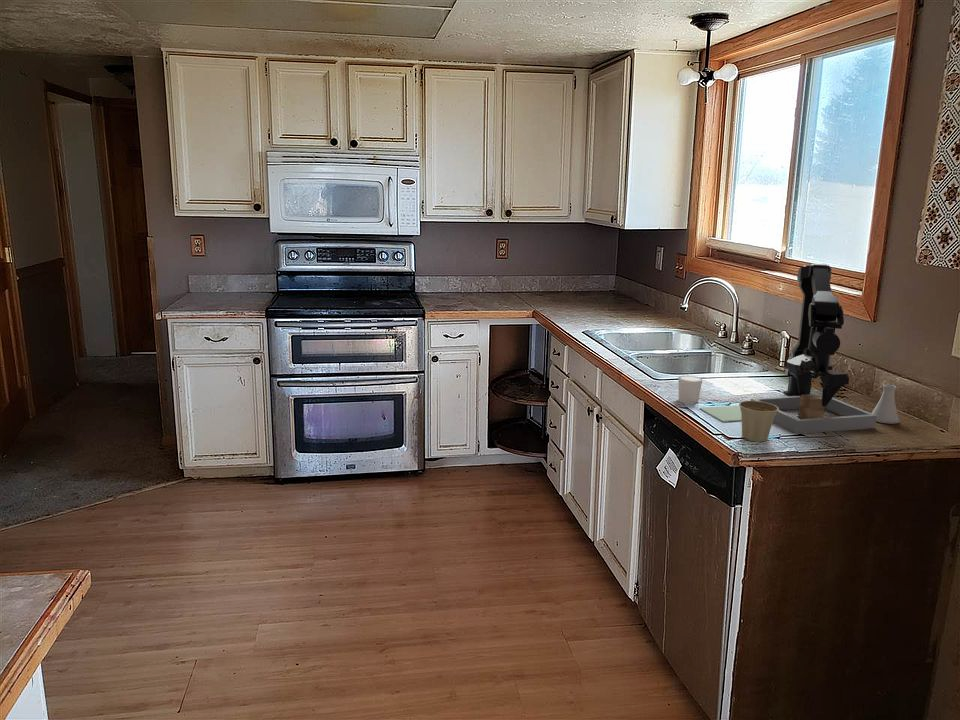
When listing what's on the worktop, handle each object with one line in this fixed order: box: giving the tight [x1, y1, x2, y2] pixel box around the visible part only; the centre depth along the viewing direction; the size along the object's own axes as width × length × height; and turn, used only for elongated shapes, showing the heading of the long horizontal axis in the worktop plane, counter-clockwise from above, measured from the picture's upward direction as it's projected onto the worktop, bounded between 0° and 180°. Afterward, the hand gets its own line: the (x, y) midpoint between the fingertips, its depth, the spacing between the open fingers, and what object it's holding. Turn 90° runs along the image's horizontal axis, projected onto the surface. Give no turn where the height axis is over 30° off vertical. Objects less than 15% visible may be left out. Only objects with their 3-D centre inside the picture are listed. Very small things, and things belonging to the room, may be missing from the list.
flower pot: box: [738, 400, 779, 443], centre depth 187 cm, size 9×9×9 cm
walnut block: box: [797, 393, 826, 419], centre depth 204 cm, size 4×4×6 cm
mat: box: [699, 405, 742, 423], centre depth 207 cm, size 12×12×1 cm
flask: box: [871, 384, 900, 425], centre depth 204 cm, size 7×7×10 cm
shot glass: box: [677, 375, 703, 405], centre depth 218 cm, size 7×7×7 cm
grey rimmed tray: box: [750, 393, 877, 435], centre depth 204 cm, size 20×24×4 cm
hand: (812, 401), depth 203 cm, fingers open, 9 cm apart
